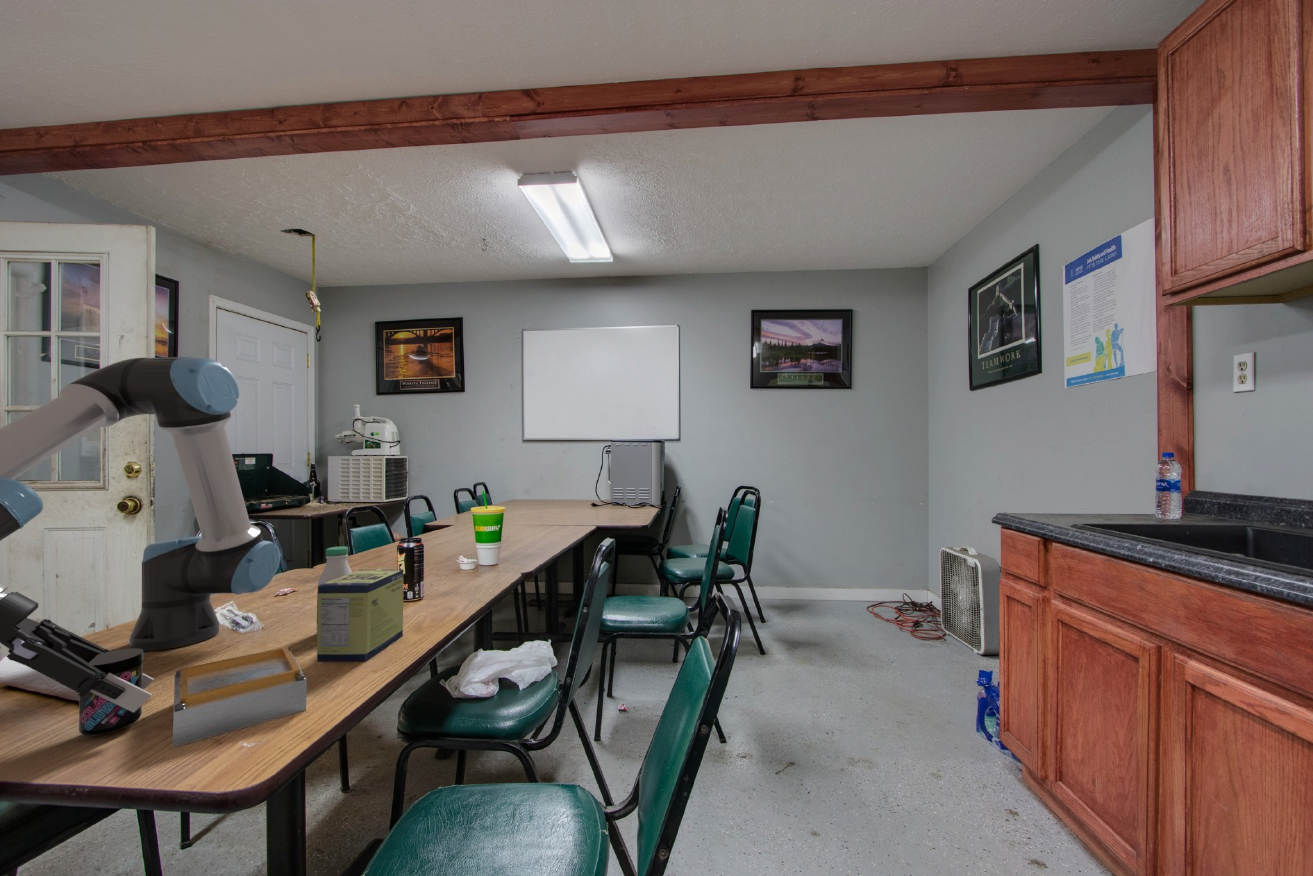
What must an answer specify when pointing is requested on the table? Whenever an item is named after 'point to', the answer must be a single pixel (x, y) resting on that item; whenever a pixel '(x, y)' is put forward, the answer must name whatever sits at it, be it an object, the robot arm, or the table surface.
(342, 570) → the milk bottle
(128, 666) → the supplement container
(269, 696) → the wood-rimmed grey tray
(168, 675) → the table surface
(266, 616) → the table surface
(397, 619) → the protein box
